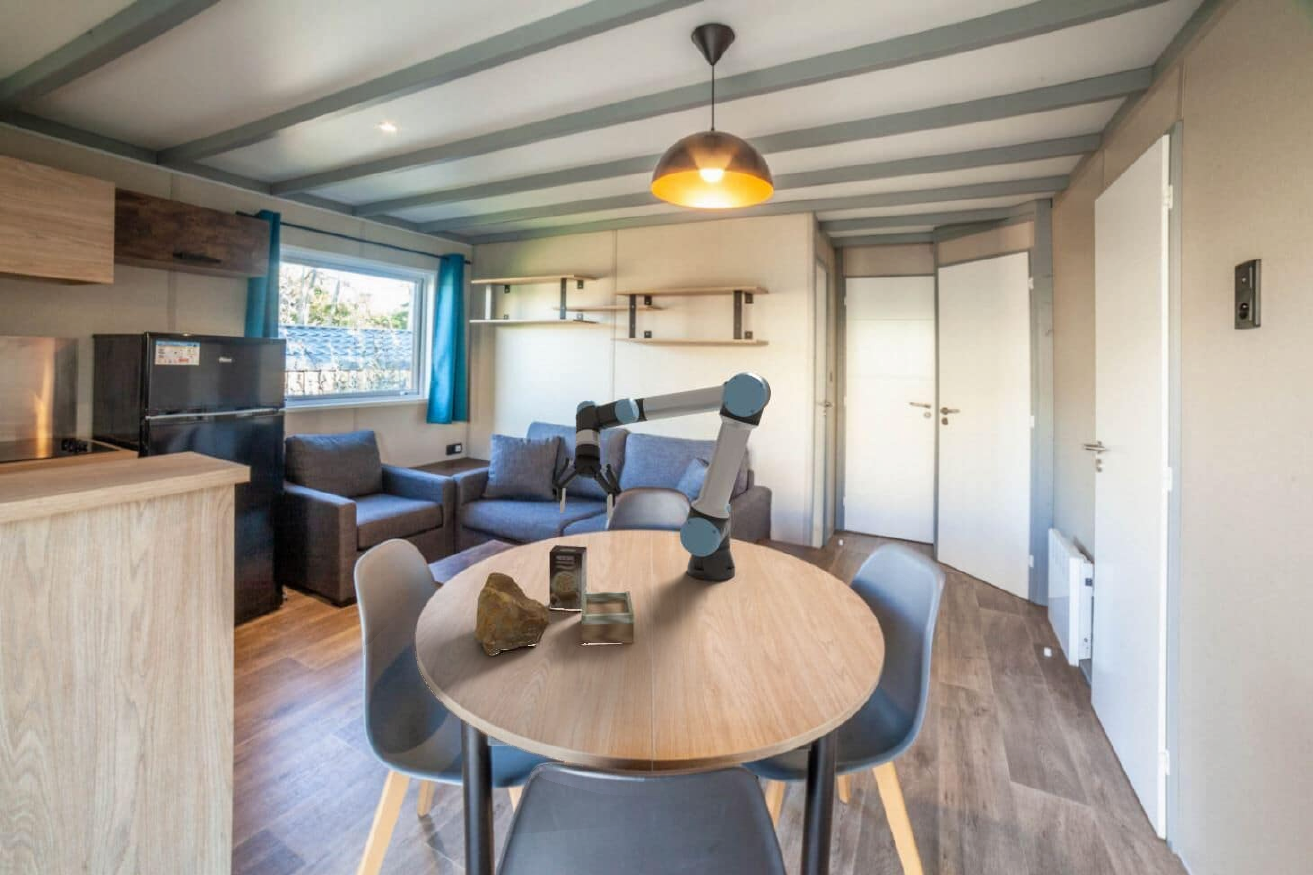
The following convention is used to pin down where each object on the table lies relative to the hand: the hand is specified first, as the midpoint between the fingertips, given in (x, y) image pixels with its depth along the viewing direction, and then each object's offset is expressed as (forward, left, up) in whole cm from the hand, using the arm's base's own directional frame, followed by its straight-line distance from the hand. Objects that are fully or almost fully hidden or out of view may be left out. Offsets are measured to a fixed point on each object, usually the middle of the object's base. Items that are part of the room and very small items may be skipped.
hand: (586, 514), depth 160 cm
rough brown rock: (+17, +27, -24) cm, 40 cm away
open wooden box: (-5, +23, -24) cm, 33 cm away
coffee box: (+5, +7, -24) cm, 25 cm away
